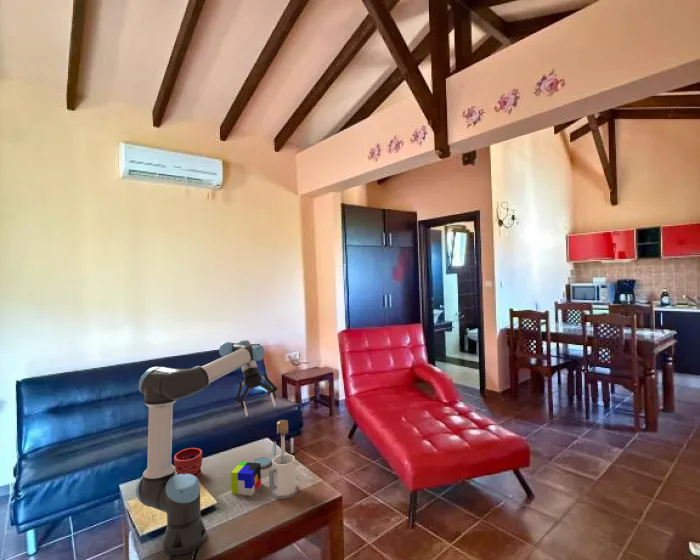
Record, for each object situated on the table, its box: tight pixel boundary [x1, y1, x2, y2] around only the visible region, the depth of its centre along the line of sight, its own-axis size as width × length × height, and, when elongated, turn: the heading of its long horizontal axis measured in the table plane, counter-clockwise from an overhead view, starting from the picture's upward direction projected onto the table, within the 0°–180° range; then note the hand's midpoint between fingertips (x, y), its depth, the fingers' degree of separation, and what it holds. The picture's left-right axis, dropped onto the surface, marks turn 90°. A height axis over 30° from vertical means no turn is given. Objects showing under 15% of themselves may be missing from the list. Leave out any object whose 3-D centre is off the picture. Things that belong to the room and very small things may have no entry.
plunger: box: [276, 419, 289, 464], centre depth 174 cm, size 8×8×22 cm
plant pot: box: [173, 447, 203, 478], centre depth 190 cm, size 13×13×12 cm
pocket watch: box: [251, 441, 277, 469], centre depth 201 cm, size 10×11×15 cm
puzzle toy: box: [230, 461, 262, 496], centre depth 178 cm, size 10×10×10 cm
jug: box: [268, 453, 299, 500], centre depth 174 cm, size 14×12×15 cm
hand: (261, 410), depth 181 cm, fingers open, 13 cm apart
